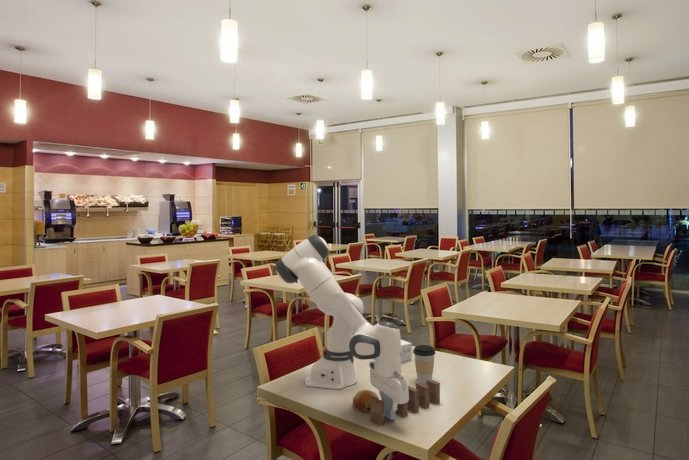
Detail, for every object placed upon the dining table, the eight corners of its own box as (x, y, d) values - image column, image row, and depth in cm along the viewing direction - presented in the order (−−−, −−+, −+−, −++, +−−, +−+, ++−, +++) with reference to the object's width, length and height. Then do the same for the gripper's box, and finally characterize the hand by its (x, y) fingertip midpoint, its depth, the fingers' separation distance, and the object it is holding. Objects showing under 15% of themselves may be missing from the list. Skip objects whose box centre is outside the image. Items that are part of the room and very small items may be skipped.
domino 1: (379, 426, 153) (379, 403, 153) (370, 420, 158) (370, 398, 157) (384, 424, 155) (383, 401, 154) (375, 419, 159) (374, 397, 158)
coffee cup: (435, 387, 186) (435, 351, 185) (412, 386, 187) (412, 350, 187) (435, 378, 195) (435, 344, 194) (413, 377, 197) (413, 343, 196)
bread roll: (379, 412, 172) (378, 390, 175) (380, 412, 162) (379, 388, 166) (353, 412, 172) (353, 390, 175) (352, 412, 163) (352, 389, 166)
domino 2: (387, 413, 162) (387, 391, 161) (395, 419, 157) (395, 396, 157) (383, 414, 161) (382, 392, 161) (390, 420, 156) (390, 397, 156)
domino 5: (425, 408, 166) (425, 387, 166) (416, 404, 170) (415, 383, 170) (429, 407, 167) (429, 386, 167) (419, 402, 171) (419, 382, 171)
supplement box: (369, 357, 224) (369, 339, 224) (389, 352, 232) (389, 334, 231) (391, 367, 211) (391, 347, 210) (412, 361, 218) (411, 342, 218)
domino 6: (436, 405, 169) (436, 384, 169) (426, 400, 173) (426, 380, 173) (439, 403, 170) (439, 383, 170) (430, 399, 174) (430, 379, 174)
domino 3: (403, 417, 160) (403, 395, 159) (394, 412, 164) (393, 390, 163) (407, 415, 161) (407, 393, 160) (398, 410, 165) (398, 389, 165)
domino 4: (414, 413, 163) (414, 391, 162) (405, 408, 167) (405, 387, 167) (418, 411, 164) (418, 390, 164) (409, 406, 168) (409, 385, 168)
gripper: (413, 376, 150) (413, 416, 151) (381, 358, 169) (381, 394, 169) (397, 379, 148) (397, 420, 148) (366, 361, 166) (367, 397, 166)
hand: (389, 406), depth 159 cm, fingers closed on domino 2, 5 cm apart
